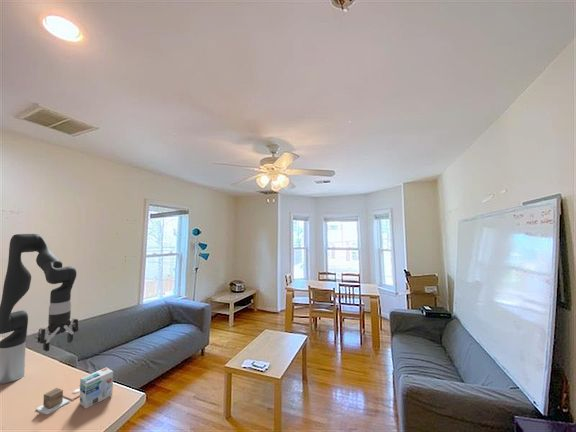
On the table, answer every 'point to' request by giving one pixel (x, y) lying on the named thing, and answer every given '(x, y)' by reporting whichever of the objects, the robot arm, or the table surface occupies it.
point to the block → (53, 398)
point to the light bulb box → (96, 387)
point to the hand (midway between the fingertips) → (58, 346)
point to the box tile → (47, 410)
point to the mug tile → (72, 393)
